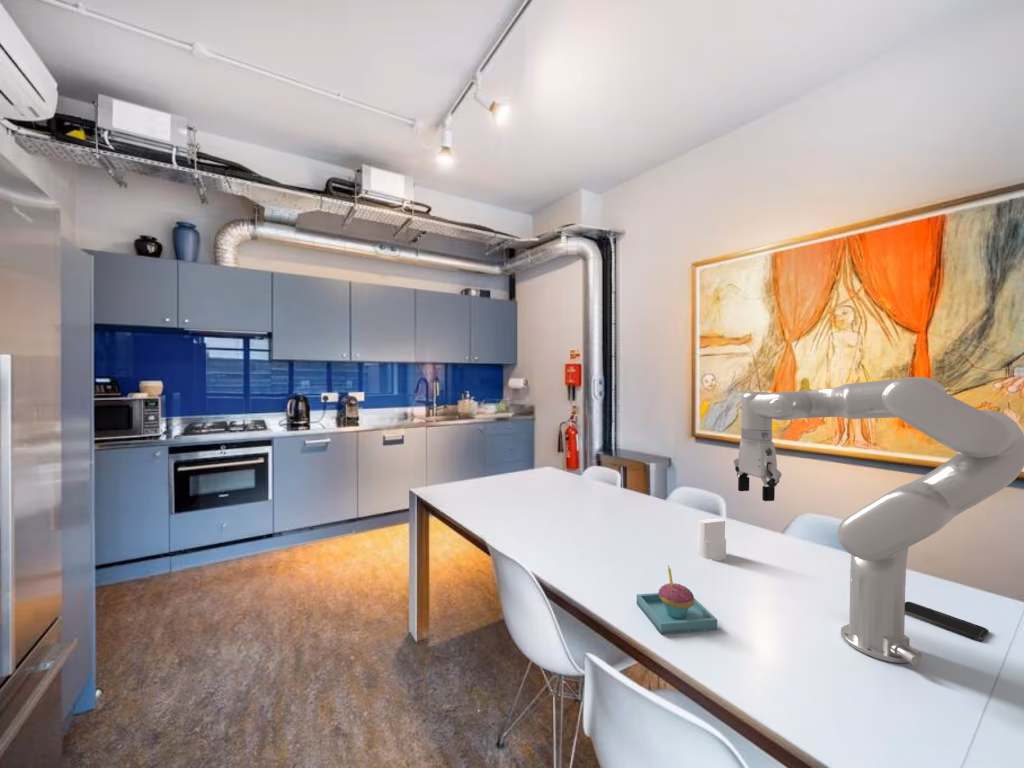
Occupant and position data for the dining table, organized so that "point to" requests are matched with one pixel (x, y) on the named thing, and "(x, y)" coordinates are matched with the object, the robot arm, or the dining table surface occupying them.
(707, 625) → the tray
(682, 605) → the cupcake
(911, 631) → the dining table surface
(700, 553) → the base with upright slab
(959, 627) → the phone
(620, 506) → the dining table surface
